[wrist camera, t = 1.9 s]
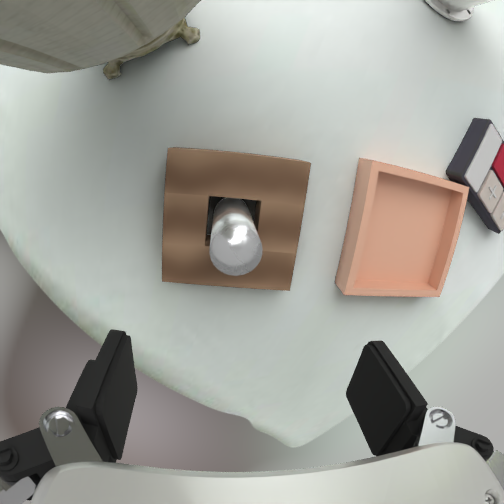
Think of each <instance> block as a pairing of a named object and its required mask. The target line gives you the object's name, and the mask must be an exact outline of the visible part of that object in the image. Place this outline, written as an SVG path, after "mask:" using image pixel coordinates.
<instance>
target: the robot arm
mask: <svg viewBox="0 0 504 504" xmlns="http://www.w3.org/2000/svg"><path fill="white" fill-rule="evenodd" d="M425 1H426V2H427V3H428V4H429V5H430V6H431V7H432V8H433V9H434V10H436V11H437V12H438V13H440V14H441V15H443V16H444V17H446V18H448V19H451V20H453V21H465V20H467V19H469V18H470V17H471V16H472V14H473V10H474V7H475V6H478V5H481V4H484V3H487V2H490V1H493V0H425ZM136 395H137V381H136V375H135V368H134V361H133V353H132V345H131V337H130V336H128V335H126V332H125V331H119V330H110V331H109V333H108V335H107V337H106V339H105V342H104V344H103V346H102V348H101V350H100V352H99V354H98V356H97V358H96V360H89V361H88V362H87V364H86V366H85V368H84V370H83V372H82V374H81V376H80V378H79V380H78V382H77V385H76V387H75V389H74V391H73V393H72V395H71V397H70V400H69V402H68V404H67V407H66V408H64V407H55V408H51V409H49V410H47V411H46V412H44V413H43V414H42V416H41V418H40V421H39V428H37V429H34V430H31V431H29V432H26V433H23V434H21V435H18V436H15V437H12V438H9V439H6V440H4V441H1V442H0V504H22V503H23V502H24V501H26V500H31V502H30V504H504V454H502V453H501V452H499V451H497V450H496V451H495V452H493V445H492V443H491V442H490V440H489V439H488V438H486V437H484V436H482V435H480V434H477V433H474V432H471V431H468V430H466V429H463V428H460V427H458V426H455V425H456V421H455V417H454V415H453V414H452V413H451V412H450V411H449V410H447V409H445V408H443V407H439V406H435V407H431V408H430V409H427V408H426V406H427V402H426V401H425V399H424V398H423V396H422V395H421V393H420V392H419V391H418V389H417V388H416V386H415V385H414V383H413V382H412V381H411V379H410V378H409V376H408V375H407V373H406V372H405V371H404V369H403V368H402V366H401V365H400V364H399V362H398V361H397V359H396V358H395V357H394V355H393V354H392V353H391V351H390V350H389V348H388V347H387V346H386V344H385V343H384V342H383V341H370V342H368V344H367V345H365V346H364V348H363V351H362V353H361V356H360V358H359V361H358V364H357V366H356V369H355V371H354V374H353V376H352V378H351V381H350V383H349V386H348V388H347V391H346V396H347V399H348V401H349V403H350V406H351V408H352V410H353V412H354V414H355V416H356V418H357V421H358V423H359V425H360V427H361V430H362V432H363V434H364V436H365V439H366V441H367V443H368V445H369V448H370V450H371V452H372V454H373V455H376V457H372V458H367V459H362V460H357V461H352V462H346V463H340V464H334V465H327V466H320V467H313V468H303V469H294V470H281V471H264V472H204V471H187V470H175V469H163V468H154V467H146V466H138V465H129V464H122V463H116V460H117V459H118V460H120V459H121V458H122V453H123V449H124V444H125V440H126V435H127V431H128V427H129V423H130V419H131V414H132V410H133V406H134V402H135V398H136Z"/></svg>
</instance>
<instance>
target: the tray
mask: <svg viewBox="0 0 504 504" xmlns="http://www.w3.org/2000/svg"><path fill="white" fill-rule="evenodd" d="M468 192H469V187H467V186H464V185H461V184H458V183H455V182H451V181H448V180H445V179H442V178H438V177H435V176H432V175H428V174H425V173H421V172H417V171H414V170H410V169H406V168H402V167H398V166H394V165H390V164H386V163H382V162H378V161H374V160H368V159H363V158H359V162H358V168H357V174H356V180H355V186H354V192H353V198H352V203H351V208H350V214H349V219H348V224H347V229H346V234H345V239H344V243H343V248H342V252H341V257H340V261H339V266H338V270H337V274H336V279H335V284H336V285H337V286H338V288H339V289H340V290H341V292H342V293H343V294H344V295H360V296H403V297H440V294H441V291H442V288H443V285H444V282H445V280H446V276H447V273H448V270H449V267H450V264H451V261H452V257H453V254H454V250H455V247H456V243H457V240H458V236H459V232H460V228H461V224H462V220H463V215H464V211H465V206H466V202H467V197H468Z"/></svg>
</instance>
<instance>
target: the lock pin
mask: <svg viewBox="0 0 504 504" xmlns="http://www.w3.org/2000/svg"><path fill="white" fill-rule="evenodd" d="M262 251H263V250H262V243H261V241H260V238H259V235H258V233H257V230H256V227H255V225H254V222H253V219H252V217H251V214H250V212H249V209H248V207H247V205H246V203H245V202H244V201H243V200H241V199H239V198H228V197H227V198H224V199H222V200H221V201H220V202H218V204H217V205H216V207H215V209H214V215H213V223H212V231H211V240H210V249H209V253H210V258H211V261H212V263H213V264H214V266H215V267H216V268H217V269H218V270H220V271H221V272H223V273H225V274H228V275H233V276H238V275H244V274H246V273H248V272H250V271H252V270H253V269H254V268H255V267H256V266H257V265H258V263H259V262H260V260H261V257H262Z"/></svg>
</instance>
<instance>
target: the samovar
mask: <svg viewBox="0 0 504 504" xmlns="http://www.w3.org/2000/svg"><path fill="white" fill-rule="evenodd" d="M200 1H201V0H0V64H2V65H7V66H11V67H16V68H21V69H25V70H30V71H37V72H43V73H57V72H71V71H75V70H80V69H85V68H89V67H93V66H97V65H101V64H103V63H106V62H108V64H107V65H106V66H105V68H104V69H103V73H104V74H105V76H106V77H107V78H108V79H113V78H117V77H119V76H120V75H121V73H120V65H121V64H122V63H123V62H126V61H129V60H131V59H134V58H137V57H142V56H144V55H146V54H148V53H150V52H152V51H154V50H156V49H158V48H159V47H161V46H162V45H163V44H164V43H167V42H169V41H172V40H174V39H177V38H179V37H181V38H183V39H184V40H185V41H187V43H188V45H189V44H193V43H196V42H197V41H199V39H200V30H199V29H198V28H193V27H188V26H187V23H186V20H185V16H186V15H187V14H188V13H189V12H190V11H191V10H192V9H193V8H194V7H195V6H196V5H197V4H198V3H199V2H200Z"/></svg>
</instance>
